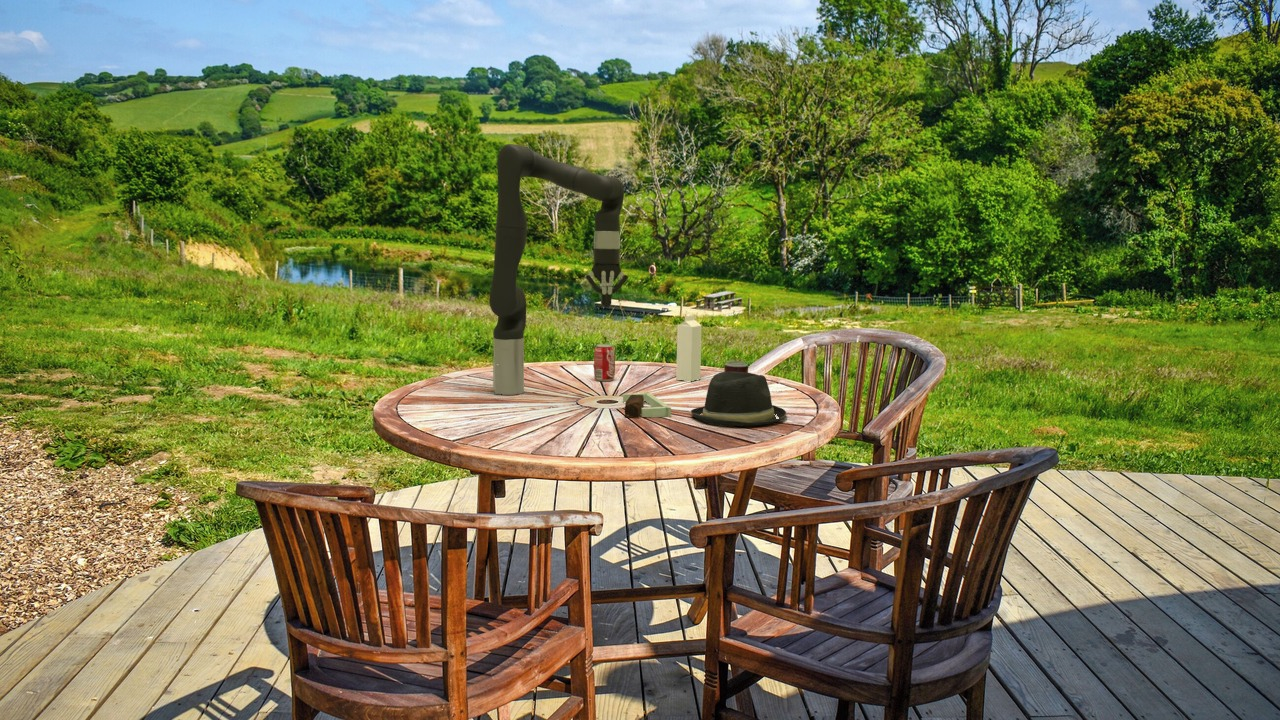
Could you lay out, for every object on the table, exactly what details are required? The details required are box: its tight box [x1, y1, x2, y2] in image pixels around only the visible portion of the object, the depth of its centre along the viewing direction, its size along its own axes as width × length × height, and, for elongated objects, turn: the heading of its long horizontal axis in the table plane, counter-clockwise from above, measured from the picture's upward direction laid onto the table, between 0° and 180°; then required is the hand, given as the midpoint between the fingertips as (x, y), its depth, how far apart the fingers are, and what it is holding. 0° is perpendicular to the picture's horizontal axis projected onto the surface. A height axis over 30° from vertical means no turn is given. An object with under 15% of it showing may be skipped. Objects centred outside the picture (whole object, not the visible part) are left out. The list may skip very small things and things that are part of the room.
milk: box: [675, 315, 703, 382], centre depth 291 cm, size 6×6×22 cm
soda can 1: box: [593, 343, 616, 383], centre depth 289 cm, size 7×7×12 cm
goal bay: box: [622, 392, 672, 418], centre depth 247 cm, size 8×21×2 cm, turn 16°
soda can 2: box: [723, 360, 749, 373], centre depth 257 cm, size 7×7×12 cm
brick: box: [624, 395, 645, 418], centre depth 241 cm, size 11×4×5 cm, turn 172°
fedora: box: [690, 371, 787, 427], centre depth 238 cm, size 25×27×12 cm
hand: (605, 307), depth 249 cm, fingers closed
